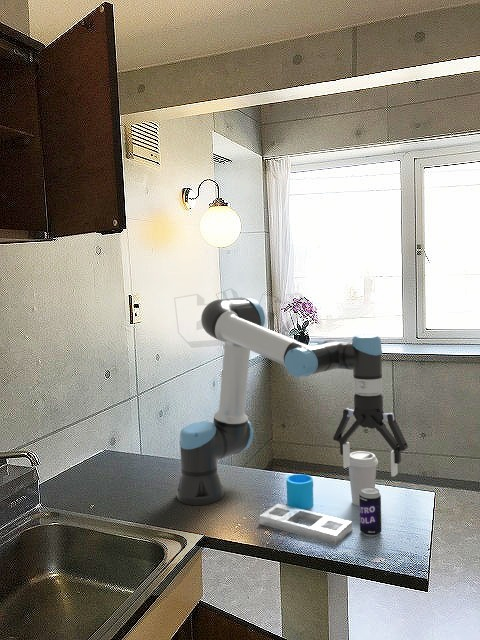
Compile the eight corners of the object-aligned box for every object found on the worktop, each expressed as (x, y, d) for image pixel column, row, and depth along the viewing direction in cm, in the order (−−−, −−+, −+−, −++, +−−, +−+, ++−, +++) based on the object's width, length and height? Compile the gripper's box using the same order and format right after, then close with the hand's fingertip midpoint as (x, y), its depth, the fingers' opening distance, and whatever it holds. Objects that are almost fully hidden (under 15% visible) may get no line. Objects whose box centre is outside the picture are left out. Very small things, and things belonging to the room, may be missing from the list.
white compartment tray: (259, 524, 161) (259, 515, 161) (278, 511, 169) (278, 503, 169) (336, 545, 147) (335, 535, 147) (352, 530, 155) (351, 521, 155)
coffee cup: (360, 511, 167) (359, 462, 166) (341, 500, 175) (339, 453, 174) (385, 504, 171) (384, 456, 170) (364, 494, 180) (364, 448, 178)
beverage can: (357, 529, 155) (356, 487, 154) (377, 527, 156) (376, 485, 155) (363, 538, 150) (362, 495, 149) (384, 537, 150) (383, 493, 149)
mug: (305, 512, 168) (304, 485, 167) (282, 506, 173) (281, 480, 172) (323, 498, 178) (323, 473, 177) (301, 493, 183) (300, 468, 182)
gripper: (319, 391, 154) (322, 467, 156) (409, 400, 139) (411, 483, 141) (332, 386, 160) (334, 459, 162) (419, 394, 146) (420, 474, 147)
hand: (370, 470), depth 151 cm, fingers open, 13 cm apart
